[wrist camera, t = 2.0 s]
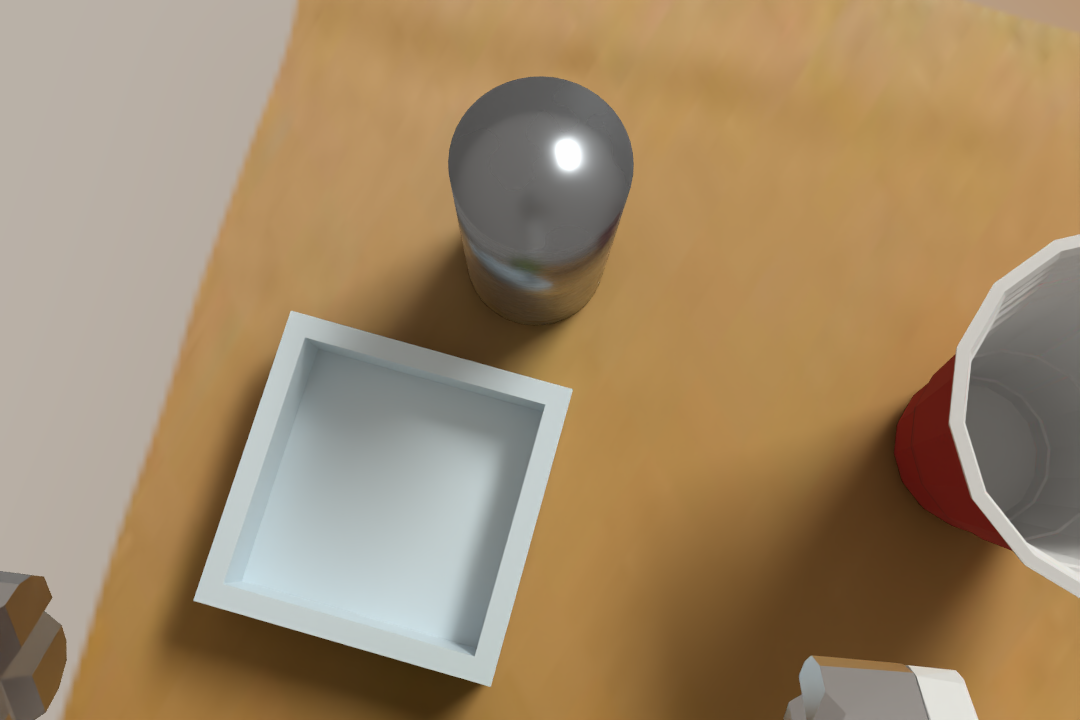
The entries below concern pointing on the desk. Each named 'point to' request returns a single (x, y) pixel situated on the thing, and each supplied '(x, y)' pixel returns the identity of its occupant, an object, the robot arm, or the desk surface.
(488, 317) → the desk surface
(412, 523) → the tray
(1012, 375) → the plastic cup
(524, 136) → the tin
